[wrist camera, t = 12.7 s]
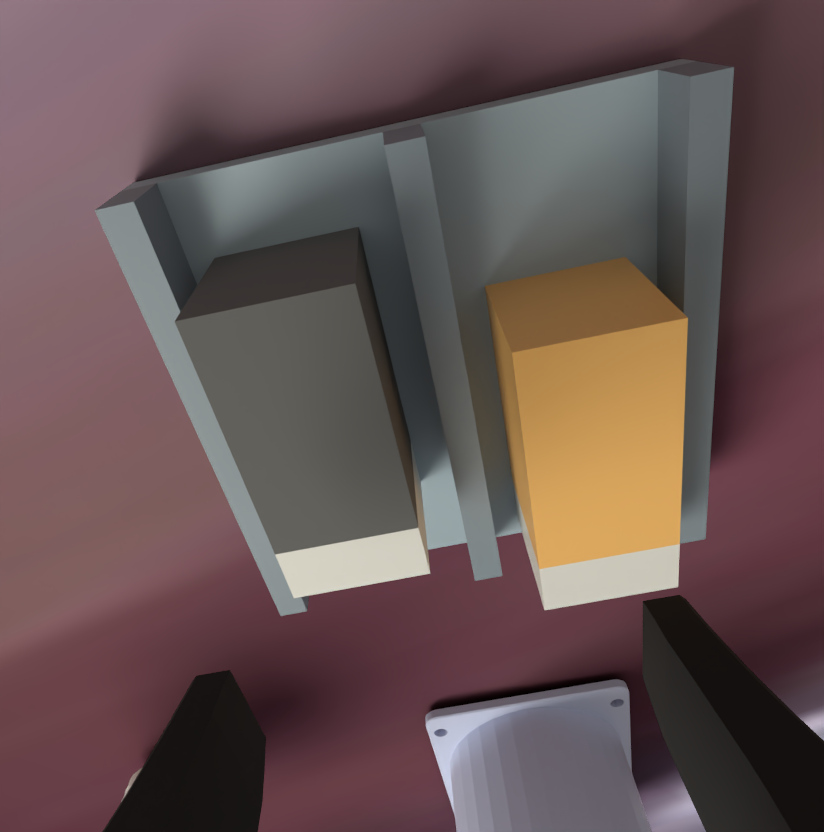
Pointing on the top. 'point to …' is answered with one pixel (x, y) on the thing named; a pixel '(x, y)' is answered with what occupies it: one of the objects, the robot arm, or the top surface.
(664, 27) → the top surface
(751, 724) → the robot arm
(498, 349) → the tall orange block
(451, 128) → the slot board
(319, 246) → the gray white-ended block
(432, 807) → the top surface
